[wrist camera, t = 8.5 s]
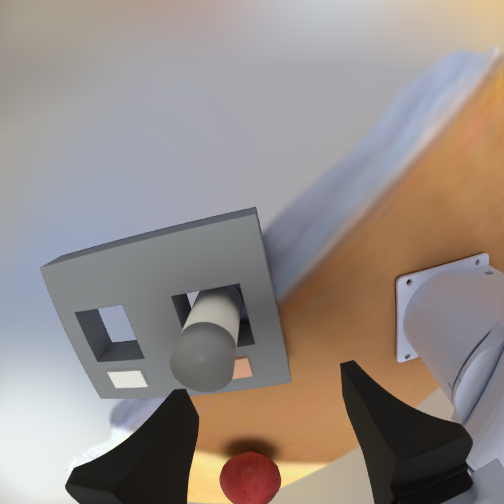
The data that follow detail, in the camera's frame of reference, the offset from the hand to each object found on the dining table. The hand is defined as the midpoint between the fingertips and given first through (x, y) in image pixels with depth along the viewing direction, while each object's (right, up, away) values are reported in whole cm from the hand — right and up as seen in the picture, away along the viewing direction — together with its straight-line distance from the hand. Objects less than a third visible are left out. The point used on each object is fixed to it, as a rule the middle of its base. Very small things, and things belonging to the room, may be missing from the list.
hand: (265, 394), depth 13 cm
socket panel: (-7, +2, +9) cm, 12 cm away
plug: (-3, +3, +9) cm, 10 cm away
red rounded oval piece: (-1, -14, +14) cm, 20 cm away
